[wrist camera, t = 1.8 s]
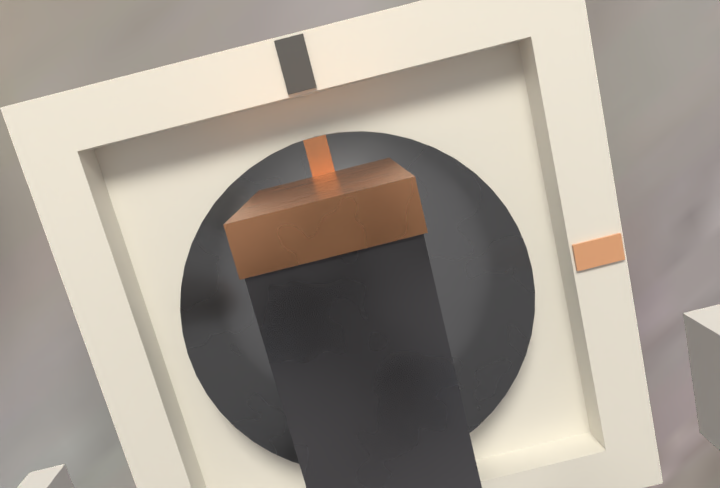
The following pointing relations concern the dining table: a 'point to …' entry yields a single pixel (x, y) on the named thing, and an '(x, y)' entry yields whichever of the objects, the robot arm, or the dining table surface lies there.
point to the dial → (359, 309)
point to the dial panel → (342, 114)
